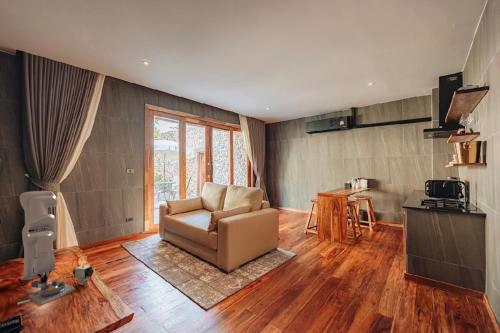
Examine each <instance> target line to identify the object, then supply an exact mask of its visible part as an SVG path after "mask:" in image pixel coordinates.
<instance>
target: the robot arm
mask: <svg viewBox="0 0 500 333" xmlns="http://www.w3.org/2000/svg"><path fill="white" fill-rule="evenodd" d="M19 202H20V205H21V207H22V208H23V210H24V226H23V228H22V231H21V234H22V235H21V236H22V244H23V247H24V248H23V249H24V250H23V252H24V257H23V260H24V261H23V262H24V263H23V275H22V276H20V280H21V281H30V280H34V279H38V278H40V279H39V281H41V282H45V283H48V279H49V275H50V274H51V273H53V272H54V271H56V258H55V255H54V254H55V253H54V252H55V251H56V249H55V248H54V247H53V244H54V242H53V241H55V240H56V239H57V235H58V234H57V223H56V220H57V219H56V217H55V215H54V214H51V213H48V208H55V207H57V205H58V197H57V196H56V194H55V193H54V191H52V190H38V191H36V190H33V191H26V192H22V193H21V194H20V196H19ZM38 229H39V230H38ZM30 230H31V231H30ZM32 230H33V231H32Z"/></svg>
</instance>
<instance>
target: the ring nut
mask: <svg viewBox="0 0 500 333" xmlns="http://www.w3.org/2000/svg"><path fill="white" fill-rule="evenodd" d="M65 284H66V283H65V281H64V280H62V281H59V282H58V280H57V279H55V280H52V281H51V283H50V282H48V281H47V283H45V282H41V281H40V280H34V281H32V282H31V284H30V285H31V286H30V287H31V288H35V289H38V288H39V291H40V295H41V296H49V295H53V294H56V293H59V292H61V291H62V290H64V289H65Z"/></svg>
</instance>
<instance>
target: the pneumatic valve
mask: <svg viewBox="0 0 500 333" xmlns="http://www.w3.org/2000/svg"><path fill="white" fill-rule="evenodd" d="M94 272H95V270H94V269H93V265H88V264H87V265H84V264H83V265H82V264H81V265H78V266H76V267H74V269H73V271H72V274H73V276H74V278H75V279H78V285H79V286H84V285H86V284H88V282H89V280H88V278H91V277H92V276H93V274H94Z"/></svg>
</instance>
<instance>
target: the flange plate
mask: <svg viewBox="0 0 500 333" xmlns="http://www.w3.org/2000/svg"><path fill="white" fill-rule="evenodd" d="M75 291H76V287H73V286H72V285H69V284H67V283H65V289H64V290H62V291H61V292H59V293H56V294H53V295H49V296H41V295H40V290H39V291H36V292H32V293H30V294H29V295H28V298H29V299H24V300H21V301H19V302H17V303H16V304H17V306H18V305H22V304H25V303H28V302H31V300H32V301H34V302H35V303H37V304H40V305H45V304H47V303H49V302H51V301H54V300H56V299H59V298H61V297H63V296H66V295H68V294H70V293H73V292H75Z"/></svg>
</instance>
